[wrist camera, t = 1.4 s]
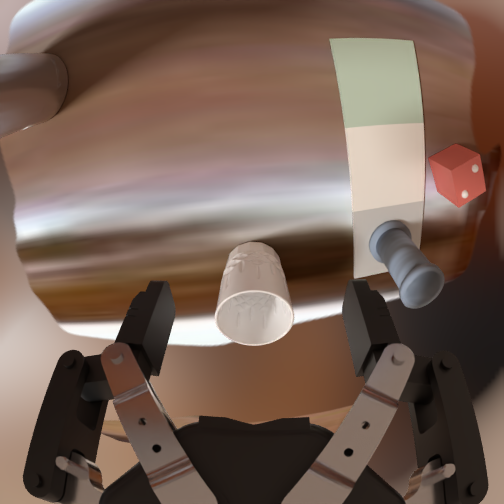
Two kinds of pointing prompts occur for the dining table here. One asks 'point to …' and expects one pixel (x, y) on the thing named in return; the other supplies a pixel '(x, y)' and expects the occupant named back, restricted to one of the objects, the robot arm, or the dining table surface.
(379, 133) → the game track
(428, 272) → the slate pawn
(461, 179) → the red die
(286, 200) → the dining table surface
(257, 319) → the white cup
